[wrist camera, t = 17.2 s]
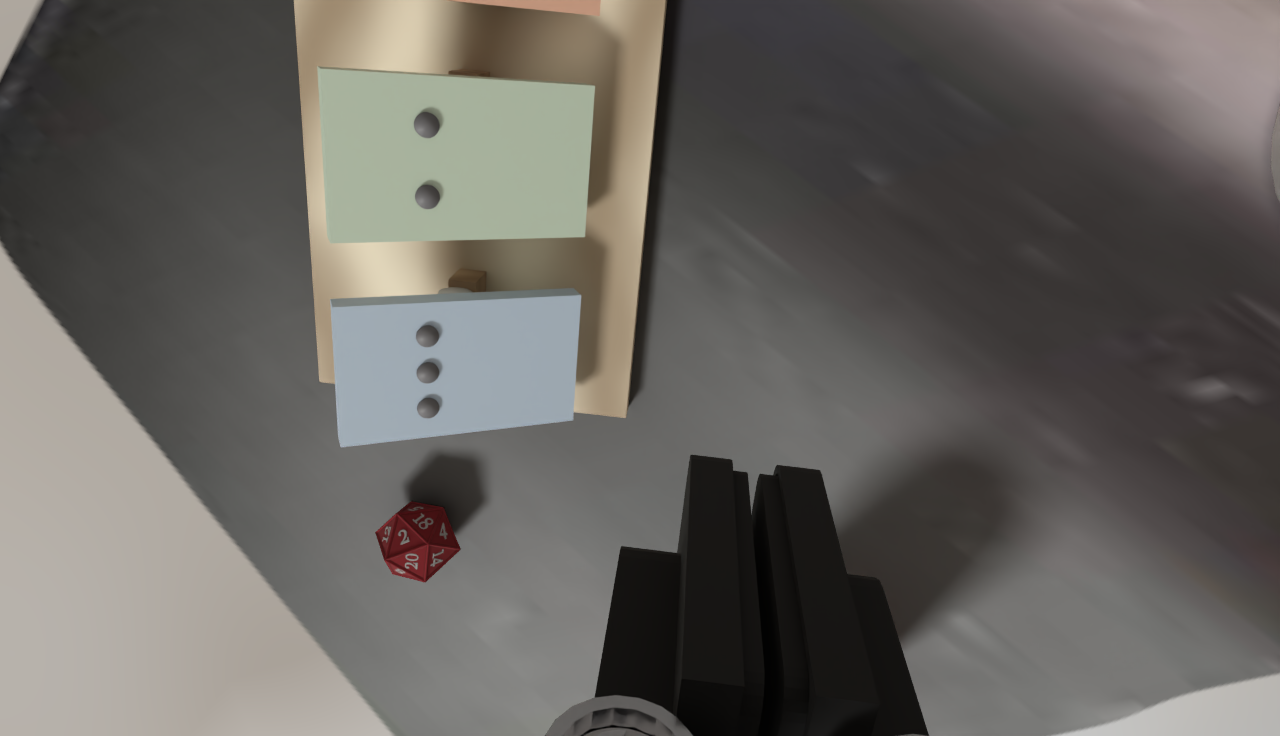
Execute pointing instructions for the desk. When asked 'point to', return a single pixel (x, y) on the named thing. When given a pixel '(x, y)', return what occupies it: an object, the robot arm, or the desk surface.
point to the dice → (417, 541)
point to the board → (593, 265)
